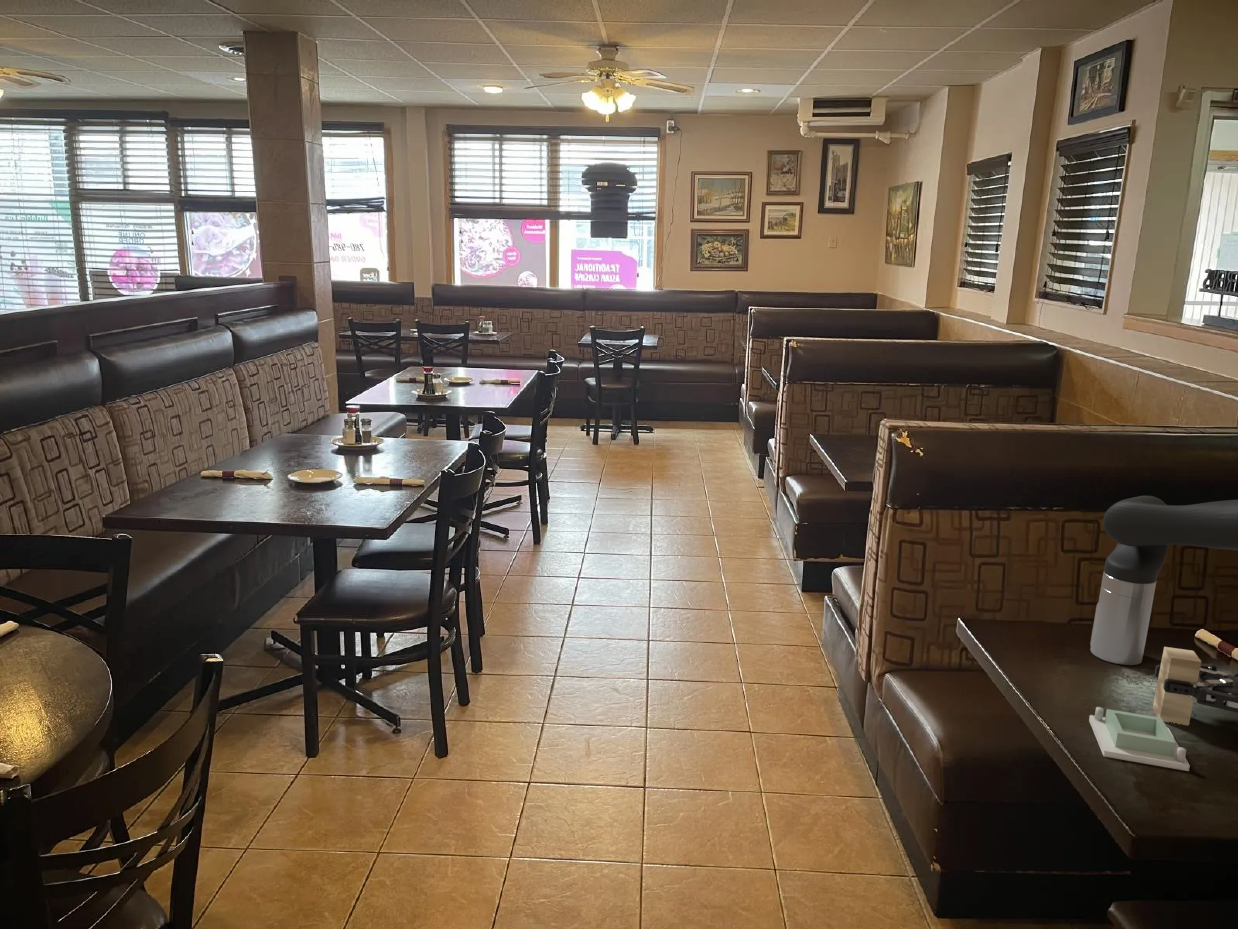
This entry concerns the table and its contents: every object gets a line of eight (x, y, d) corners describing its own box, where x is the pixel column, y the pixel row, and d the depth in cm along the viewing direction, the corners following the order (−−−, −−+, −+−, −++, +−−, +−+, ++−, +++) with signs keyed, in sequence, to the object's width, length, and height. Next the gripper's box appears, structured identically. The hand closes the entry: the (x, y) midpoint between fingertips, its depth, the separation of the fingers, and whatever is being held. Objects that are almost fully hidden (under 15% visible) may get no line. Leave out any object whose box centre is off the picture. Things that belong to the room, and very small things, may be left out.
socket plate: (1088, 720, 152) (1092, 701, 151) (1167, 733, 149) (1171, 714, 148) (1103, 756, 141) (1107, 736, 140) (1188, 771, 137) (1192, 751, 137)
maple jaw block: (1152, 708, 157) (1164, 646, 154) (1181, 713, 156) (1193, 650, 153) (1159, 721, 153) (1171, 657, 150) (1188, 725, 151) (1201, 661, 149)
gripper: (1261, 656, 154) (1152, 641, 159) (1295, 693, 141) (1175, 676, 146) (1253, 695, 156) (1145, 679, 161) (1286, 736, 143) (1167, 717, 147)
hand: (1160, 678), depth 153 cm, fingers open, 5 cm apart
